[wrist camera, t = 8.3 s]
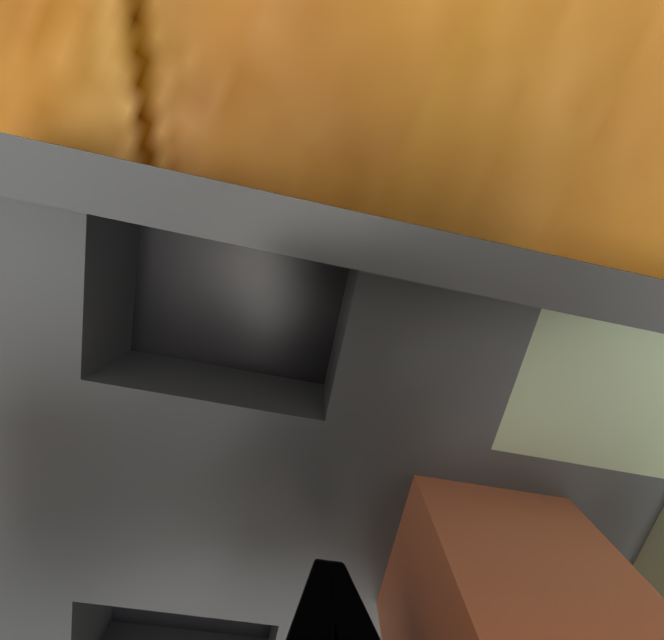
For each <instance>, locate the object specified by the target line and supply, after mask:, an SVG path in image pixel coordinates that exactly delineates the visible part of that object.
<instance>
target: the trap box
mask: <svg viewBox="0 0 664 640" xmlns="http://www.w3.org/2000/svg"><path fill="white" fill-rule="evenodd" d="M414 475H419V476H425V477H432V478H438V479H445V480H451V481H458V482H464V483H471V484H477V485H484V486H490V487H497V488H503V489H509V490H516V491H522V492H529V493H535V494H542V495H548V496H555V497H561V498H568V499H570V500H571V501H572V502H573V503H574V504H575V505H576V507H577V508H578V509H579V510H580V511H581V512H582V513H583V514H584V515H585V516H586V517H587V518H588V519H589V520H590V521H591V522H592V523H593V524H594V525H595V526H596V528H597V529H598V530H599V531H600V532H601V533H602V534H603V535H604V536H605V537H606V538H607V539H608V540H609V541H610V542H611V543H612V544H613V545H614V546H615V547H616V549H617V550H618V551H619V552H620V553H621V554H622V555H623V556H624V557H625V558H626V559H627V560H628V561H629V562H630V563H631V564H632V565H633V566H634V567H635V568H636V570H637V571H638V572H639V573H640V574H641V575H642V576H643V577H644V578H645V579H646V580H647V581H648V582H649V583H650V584H651V585H652V586H653V587H654V588H655V589H656V590H657V592H658V593H659V594H660V595H661V596H662V597H663V598H664V280H663V279H659V278H654V277H650V276H645V275H641V274H636V273H631V272H627V271H622V270H618V269H613V268H609V267H604V266H600V265H595V264H591V263H586V262H582V261H577V260H573V259H568V258H564V257H559V256H555V255H550V254H546V253H541V252H537V251H532V250H528V249H523V248H519V247H514V246H510V245H505V244H501V243H496V242H492V241H487V240H483V239H478V238H474V237H469V236H465V235H460V234H456V233H451V232H447V231H442V230H438V229H433V228H429V227H424V226H420V225H415V224H411V223H406V222H402V221H397V220H393V219H388V218H384V217H379V216H375V215H370V214H366V213H361V212H357V211H352V210H348V209H343V208H339V207H334V206H330V205H325V204H321V203H316V202H312V201H307V200H303V199H298V198H294V197H289V196H285V195H280V194H276V193H271V192H267V191H262V190H258V189H253V188H249V187H244V186H240V185H235V184H231V183H226V182H222V181H217V180H213V179H208V178H204V177H199V176H195V175H190V174H186V173H181V172H177V171H172V170H168V169H163V168H159V167H154V166H150V165H145V164H141V163H136V162H132V161H127V160H123V159H118V158H114V157H109V156H105V155H100V154H96V153H91V152H87V151H82V150H78V149H73V148H69V147H64V146H60V145H55V144H51V143H46V142H42V141H37V140H33V139H28V138H24V137H19V136H15V135H10V134H6V133H1V132H0V640H286V637H287V634H288V631H289V629H290V626H291V623H292V620H293V618H294V615H295V612H296V609H297V606H298V604H299V601H300V598H301V595H302V593H303V590H304V587H305V584H306V581H307V579H308V576H309V573H310V570H311V568H312V565H313V562H314V560H315V559H324V560H329V561H330V560H332V561H339V562H343V563H344V564H345V566H346V568H347V570H348V572H349V574H350V576H351V578H352V580H353V583H354V585H355V587H356V589H357V591H358V593H359V595H360V597H361V599H362V601H363V604H364V606H365V608H366V610H367V612H368V614H369V616H370V618H371V620H372V622H373V624H374V627H375V629H376V631H377V633H378V635H379V637H380V639H381V640H382V637H381V631H380V624H379V618H378V611H377V604H376V601H377V598H378V595H379V591H380V588H381V585H382V581H383V578H384V575H385V571H386V568H387V564H388V561H389V558H390V554H391V551H392V548H393V544H394V541H395V538H396V534H397V531H398V528H399V524H400V521H401V517H402V514H403V511H404V507H405V504H406V501H407V497H408V494H409V491H410V487H411V484H412V481H413V477H414Z"/></svg>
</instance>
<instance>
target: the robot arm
mask: <svg viewBox="0 0 664 640" xmlns="http://www.w3.org/2000/svg"><path fill="white" fill-rule="evenodd" d="M286 640H381V639H380V637H379V635H378V633H377V631H376V629H375V627H374V624H373V622H372V620H371V618H370V616H369V614H368V612H367V610H366V608H365V606H364V604H363V601H362V599H361V597H360V595H359V593H358V591H357V589H356V587H355V585H354V583H353V580H352V578H351V576H350V574H349V572H348V570H347V568H346V566H345V564H344V563H343V562H339V561H332V560H330V561H329V560H324V559H315V560H314V562H313V565H312V568H311V570H310V573H309V576H308V579H307V581H306V584H305V587H304V590H303V593H302V595H301V598H300V601H299V604H298V606H297V609H296V612H295V615H294V618H293V620H292V623H291V626H290V629H289V631H288V634H287V637H286Z"/></svg>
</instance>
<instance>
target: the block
mask: <svg viewBox="0 0 664 640" xmlns="http://www.w3.org/2000/svg"><path fill="white" fill-rule="evenodd" d="M376 604H377V611H378V618H379V624H380V631H381V637H382V640H664V598H663V597H662V596H661V595H660V594H659V593H658V592H657V590H656V589H655V588H654V587H653V586H652V585H651V584H650V583H649V582H648V581H647V580H646V579H645V578H644V577H643V576H642V575H641V574H640V573H639V572H638V571H637V570H636V568H635V567H634V566H633V565H632V564H631V563H630V562H629V561H628V560H627V559H626V558H625V557H624V556H623V555H622V554H621V553H620V552H619V551H618V550H617V549H616V547H615V546H614V545H613V544H612V543H611V542H610V541H609V540H608V539H607V538H606V537H605V536H604V535H603V534H602V533H601V532H600V531H599V530H598V529H597V528H596V526H595V525H594V524H593V523H592V522H591V521H590V520H589V519H588V518H587V517H586V516H585V515H584V514H583V513H582V512H581V511H580V510H579V509H578V508H577V507H576V505H575V504H574V503H573V502H572V501H571V500H570V499H568V498H561V497H555V496H548V495H542V494H535V493H529V492H522V491H516V490H509V489H503V488H497V487H490V486H484V485H477V484H471V483H464V482H458V481H451V480H445V479H438V478H432V477H425V476H419V475H414V477H413V481H412V484H411V487H410V491H409V494H408V497H407V501H406V504H405V507H404V511H403V514H402V517H401V521H400V524H399V528H398V531H397V534H396V538H395V541H394V544H393V548H392V551H391V554H390V558H389V561H388V564H387V568H386V571H385V575H384V578H383V581H382V585H381V588H380V591H379V595H378V598H377V601H376Z"/></svg>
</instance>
